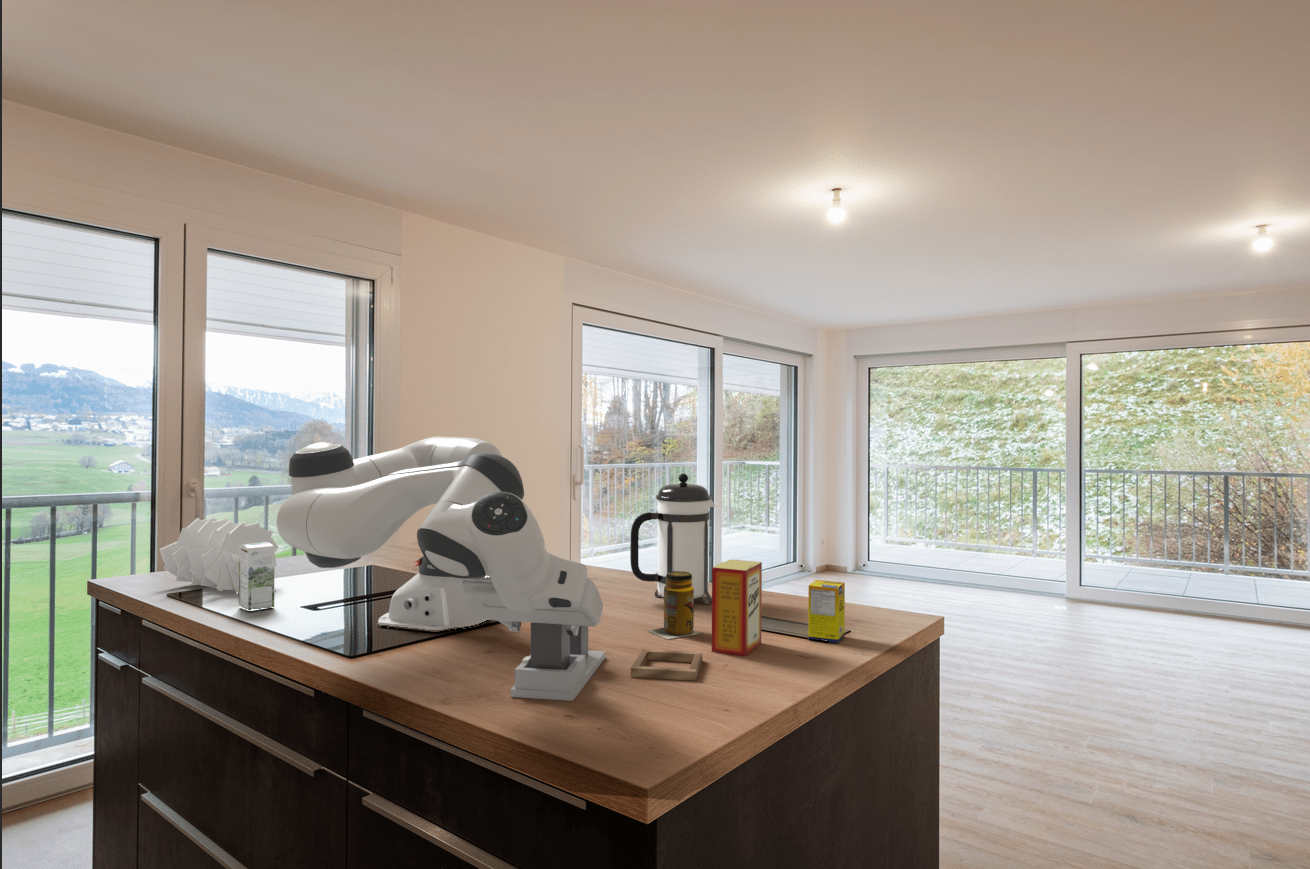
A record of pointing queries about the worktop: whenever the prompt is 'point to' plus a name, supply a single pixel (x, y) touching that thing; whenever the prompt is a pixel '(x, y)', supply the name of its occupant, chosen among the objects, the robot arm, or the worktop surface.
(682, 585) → the condiment
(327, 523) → the robot arm
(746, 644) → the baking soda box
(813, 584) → the supplement box
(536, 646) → the dark grey block
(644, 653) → the holder frame
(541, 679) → the tray and post stand
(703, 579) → the coffee press
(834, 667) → the worktop surface
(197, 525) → the spiral staircase
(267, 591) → the syrup box
